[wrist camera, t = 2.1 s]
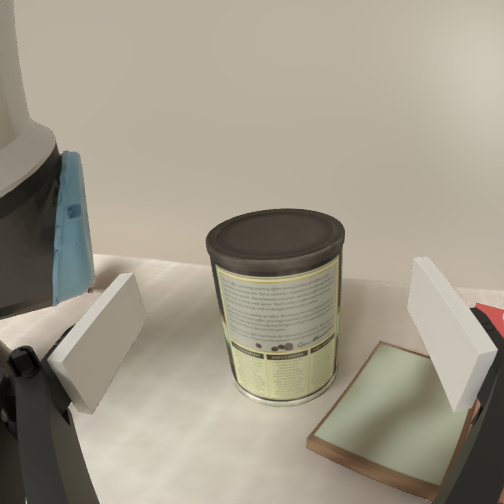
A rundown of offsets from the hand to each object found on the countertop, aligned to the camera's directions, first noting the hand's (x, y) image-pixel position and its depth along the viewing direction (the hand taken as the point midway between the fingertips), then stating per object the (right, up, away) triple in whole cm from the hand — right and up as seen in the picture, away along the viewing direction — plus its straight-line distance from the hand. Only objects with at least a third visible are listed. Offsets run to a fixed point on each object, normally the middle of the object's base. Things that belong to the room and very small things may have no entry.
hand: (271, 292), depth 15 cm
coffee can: (+2, -9, +16) cm, 18 cm away
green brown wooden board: (+16, -13, +4) cm, 21 cm away
